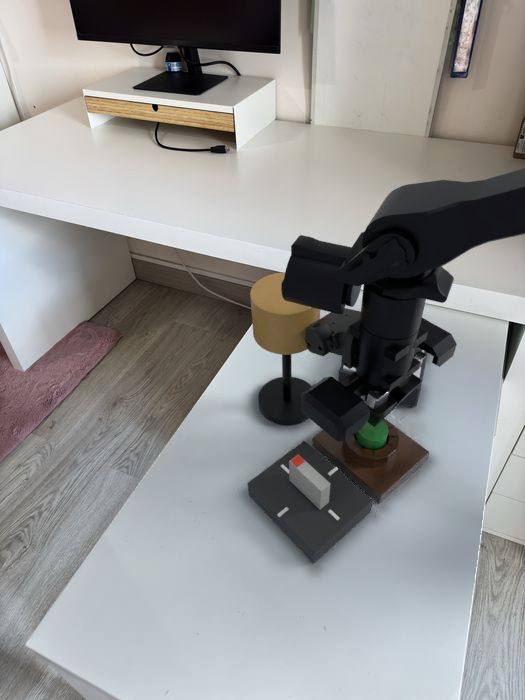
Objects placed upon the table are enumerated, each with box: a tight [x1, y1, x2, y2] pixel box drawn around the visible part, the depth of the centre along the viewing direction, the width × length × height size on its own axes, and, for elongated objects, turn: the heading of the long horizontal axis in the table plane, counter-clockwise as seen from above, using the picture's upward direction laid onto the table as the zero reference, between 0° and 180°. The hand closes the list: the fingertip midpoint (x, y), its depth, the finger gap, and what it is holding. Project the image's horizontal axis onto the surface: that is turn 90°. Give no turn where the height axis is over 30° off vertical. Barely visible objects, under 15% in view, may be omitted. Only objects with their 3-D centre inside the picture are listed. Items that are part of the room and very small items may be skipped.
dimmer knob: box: [289, 455, 330, 510], centre depth 55 cm, size 5×1×4 cm, turn 40°
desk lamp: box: [249, 271, 321, 427], centre depth 63 cm, size 8×8×19 cm
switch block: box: [312, 417, 431, 504], centre depth 62 cm, size 11×9×4 cm
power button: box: [356, 421, 388, 450], centre depth 60 cm, size 4×4×2 cm
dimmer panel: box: [246, 440, 374, 564], centre depth 58 cm, size 11×9×3 cm
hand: (373, 423), depth 59 cm, fingers closed
